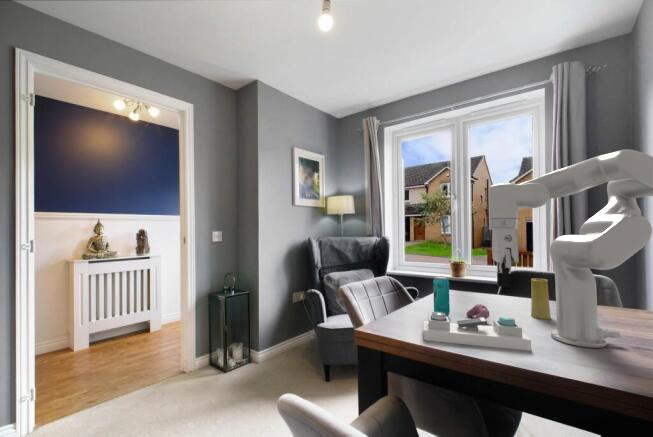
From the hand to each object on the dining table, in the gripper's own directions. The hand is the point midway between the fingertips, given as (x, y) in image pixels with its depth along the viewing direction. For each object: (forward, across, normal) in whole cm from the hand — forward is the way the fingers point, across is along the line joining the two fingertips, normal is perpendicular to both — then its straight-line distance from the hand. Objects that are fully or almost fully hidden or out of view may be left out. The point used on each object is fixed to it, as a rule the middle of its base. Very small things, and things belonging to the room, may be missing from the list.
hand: (503, 286), depth 88 cm
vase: (+16, +33, -20) cm, 42 cm away
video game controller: (+17, +22, +3) cm, 28 cm away
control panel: (+17, 0, +9) cm, 19 cm away
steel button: (+12, 0, +18) cm, 22 cm away
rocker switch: (+12, 0, +9) cm, 15 cm away
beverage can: (+17, +24, +16) cm, 33 cm away
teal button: (+12, 0, -1) cm, 12 cm away
